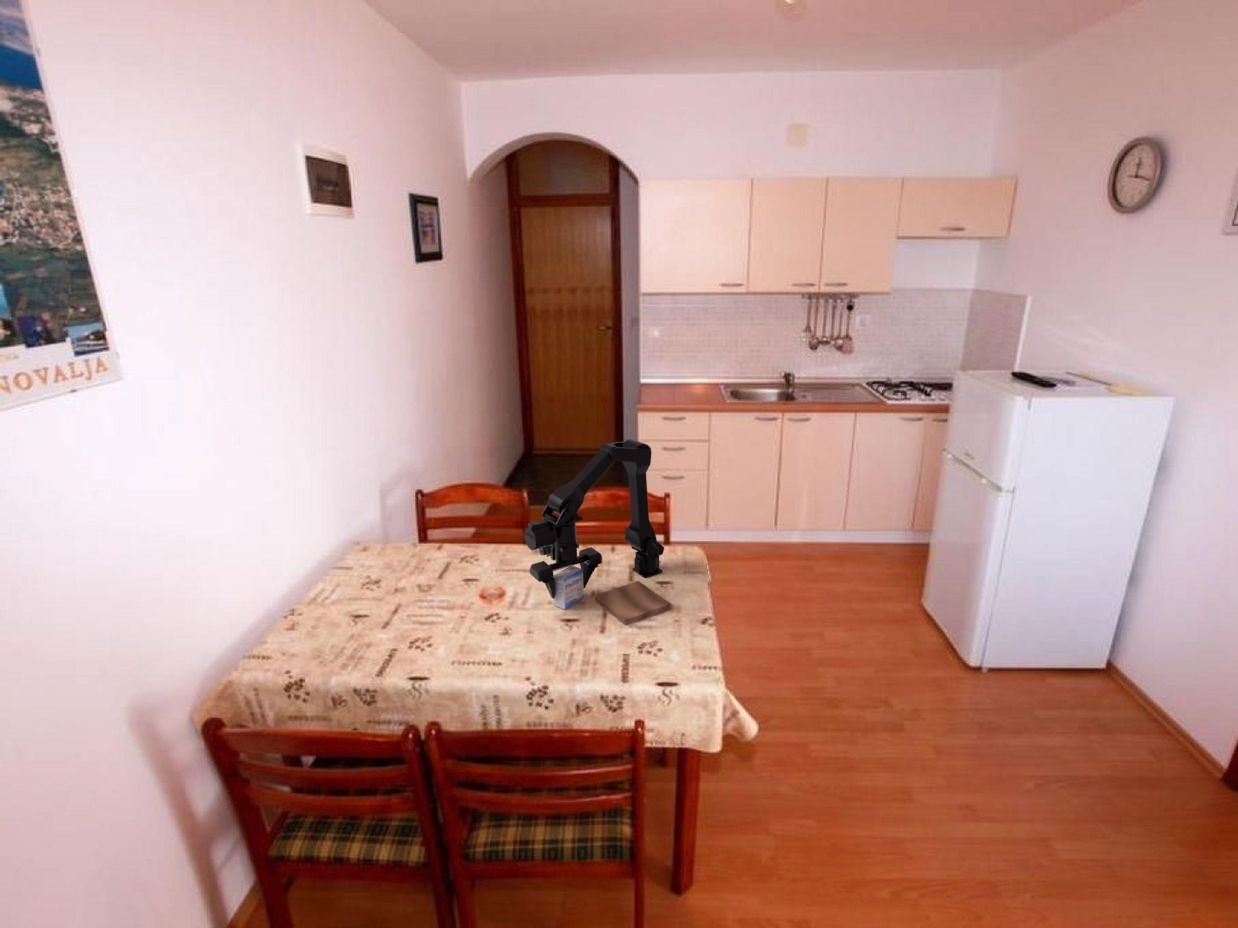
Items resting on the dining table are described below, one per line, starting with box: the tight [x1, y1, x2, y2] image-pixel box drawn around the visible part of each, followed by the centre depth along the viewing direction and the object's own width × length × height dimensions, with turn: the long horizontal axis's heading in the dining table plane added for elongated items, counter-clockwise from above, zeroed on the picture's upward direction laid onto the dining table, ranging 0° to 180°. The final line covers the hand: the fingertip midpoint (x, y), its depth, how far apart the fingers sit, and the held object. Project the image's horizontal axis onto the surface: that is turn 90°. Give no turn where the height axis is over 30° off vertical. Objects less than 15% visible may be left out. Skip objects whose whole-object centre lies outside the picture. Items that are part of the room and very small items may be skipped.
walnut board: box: [594, 580, 672, 626], centre depth 172 cm, size 14×15×2 cm
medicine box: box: [552, 565, 585, 610], centre depth 173 cm, size 8×4×9 cm, turn 143°
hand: (568, 592), depth 174 cm, fingers open, 9 cm apart
